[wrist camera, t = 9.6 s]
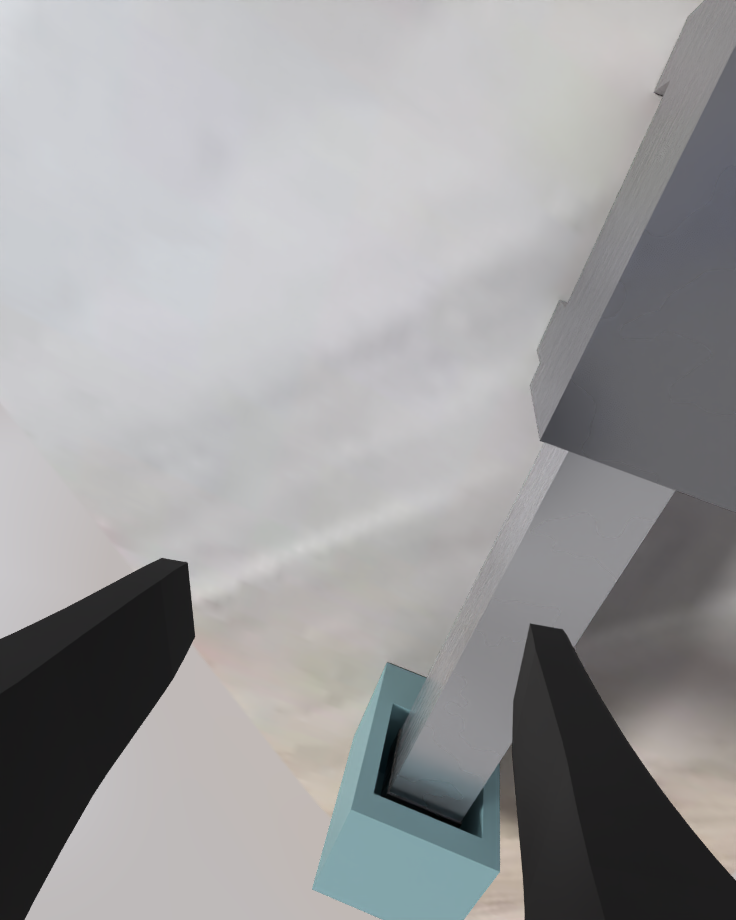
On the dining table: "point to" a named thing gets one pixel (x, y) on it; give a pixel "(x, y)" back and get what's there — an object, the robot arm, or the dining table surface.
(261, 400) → the dining table surface
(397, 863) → the socket
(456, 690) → the extension bar
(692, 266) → the sleeve
